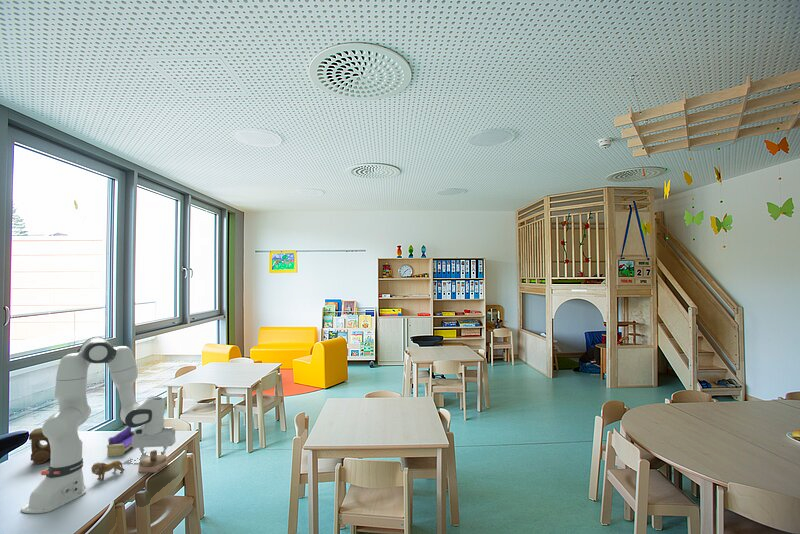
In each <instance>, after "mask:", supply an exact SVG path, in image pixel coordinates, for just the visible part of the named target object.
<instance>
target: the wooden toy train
mask: <svg viewBox="0 0 800 534" xmlns="http://www.w3.org/2000/svg"><path fill="white" fill-rule="evenodd" d="M28 440H29V441H30V442H31V443H30V446H31V454H30V461H32V462H33V463H35V464H37V465H42V464H45V463H47V462H48V461H49V459H51V448H50V443H49V440H48V438H47V437H45V436H44V435H43V433H42V427H39V428H34V429H33V430H32V431H31V432H30V433H29V434H28ZM40 441H45V442H46V444H42V442H40Z"/></svg>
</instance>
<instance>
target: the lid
mask: <svg viewBox="0 0 800 534" xmlns="http://www.w3.org/2000/svg"><path fill="white" fill-rule="evenodd" d="M149 453H150V456H149V457H146V458H144V459H142V460H141V461H140V464H139V465H140V466H141V467H153V466H157V465H160V464H162V463H164V462H165V461H166V460H167V458H168V457H167V455H165V454H164V455H157V453H158V450H156V449H152V450H150V452H149ZM139 465H138V466H139Z"/></svg>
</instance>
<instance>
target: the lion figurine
mask: <svg viewBox="0 0 800 534" xmlns="http://www.w3.org/2000/svg"><path fill="white" fill-rule="evenodd" d="M122 463H123V462H121V461H120V460H114V461H111V462H108V463H104V462H95V463H93V465H92V466H91V474H93V475H96V476H98V477H97V479H96V480H100V481H104V480H105V474H106V473H107V472H110V471H111V470H113V472H111V474H112V475H113V474H115V473H116V472H117V470H118V471H120V472H119V473H120V474H123V472H124V471H125V468H124V467H123V464H122Z"/></svg>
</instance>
